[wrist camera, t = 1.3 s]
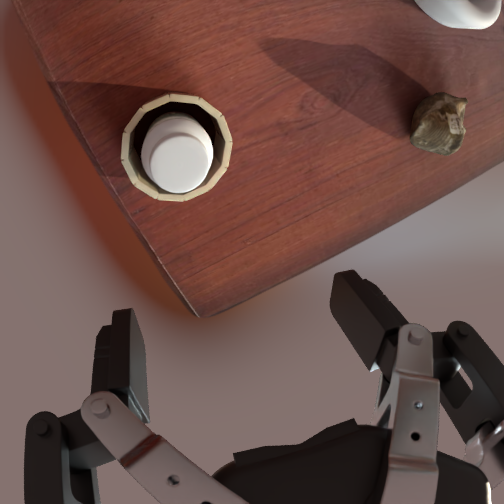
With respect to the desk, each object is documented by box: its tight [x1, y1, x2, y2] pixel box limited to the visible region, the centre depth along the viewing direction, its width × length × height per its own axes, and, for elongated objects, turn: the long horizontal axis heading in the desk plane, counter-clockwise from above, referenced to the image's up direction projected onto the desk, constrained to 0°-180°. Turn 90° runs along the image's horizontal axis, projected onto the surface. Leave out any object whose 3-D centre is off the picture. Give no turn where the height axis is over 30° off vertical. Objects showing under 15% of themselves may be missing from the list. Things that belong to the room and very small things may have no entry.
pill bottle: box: [141, 111, 213, 193], centre depth 24 cm, size 5×5×10 cm
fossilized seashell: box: [410, 92, 468, 156], centre depth 31 cm, size 8×7×10 cm
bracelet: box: [121, 92, 233, 201], centre depth 26 cm, size 9×9×5 cm
